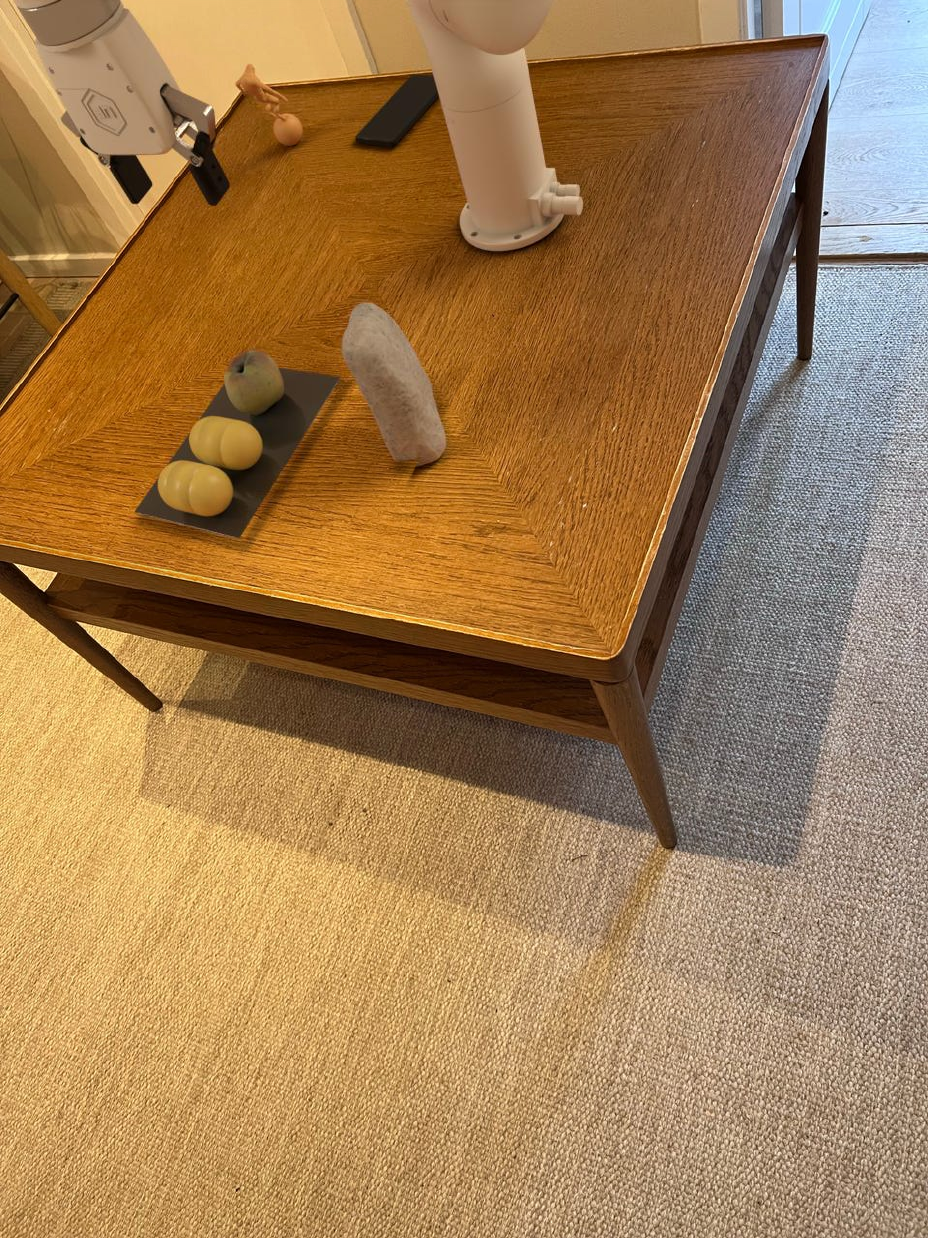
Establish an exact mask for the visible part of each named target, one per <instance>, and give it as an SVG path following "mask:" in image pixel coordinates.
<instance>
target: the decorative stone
mask: <svg viewBox="0 0 928 1238" xmlns="http://www.w3.org/2000/svg"><path fill="white" fill-rule="evenodd" d="M341 355H342V358H343V360H344V362H345V364H346V366H347V367H348V369H349V370H350V372H351V374H352V376H353V378H354V381H355V383H356V385H357V387H358V389H359V391H360V393H361V395H362V396H363V398H364V400H365V402H366V403H367V405H368V407H369V409H370V411H371V413H372V415H373V417H374V420H375V422H376V424H377V426H378V429H379V432H380V434H381V436H382V439H383V442H384V443H385V446H386V448H387V450H388V452H389V453H390V455H391V457H392V459H393V460H394V461H396V462H397V461H398V462H399V461H408V460H416V459H419V460H418V461H417V463H416V465H415V468H417V467H420V466H424V465H427V464H431V463H433V462H435V461H437V460H438V459H440V457H441V456H442V455H443V454H444V452H445V451H446V449H447V437H446V432H445V428H444V425H443V423H442V421H441V417H440V414H439V411H438V407H437V403H436V401H435V397H434V391H433V386H432V383H431V380H430V377H429V375H427V373H426V371H425V369H424V367H423V365H422V364H421V362H420V360H419V357H418V356H417V353H416V351H415V350H414V348H413V346H412V344H411V342H410V341H409V339H408V338H407V337H406V334H405V333H404V332H403V331H402V329H401V328H400V326H399V324H398V323H397V322H396V321H395V319H394V318H393V317H392V316H391V315H390V314H389V313H387V312H386V311H385V310H384V309H382V308H381V307H379V306H378V305H376V304H375V303H373V302H361V303H359V304H357V305H355V306H354V307H353V308H352V310H351V313H350V315H349V319H348V323H347V327H346V329H345V330H344V333H343V335H342V340H341Z"/></svg>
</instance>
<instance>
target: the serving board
mask: <svg viewBox="0 0 928 1238" xmlns="http://www.w3.org/2000/svg"><path fill="white" fill-rule="evenodd" d="M278 368H279V371H280V373H281V376H282V379H283V383H284V394H283V396H282V398H281V399H280V400H278V401H277V402H276V403H274V404H273V405H272V406H270V407H269V408H268V409H267V410H266V411H264V412H263V413H261V414H258V415H252V414H248V413H244V412H241V411H240V410H238V409H237V408H236V407H235V406H234V405H233V404H232V402H231V401H230V399H229V397H228V394H227V390H226V387H225V384H224V383H223V385H222V386H221V387H220V388H219V390H218V392H217V393H216V394H215V396H214V397H213V398H212V400H211V401H210V403H209V405H208V406H207V408H206V409H204V411H203V413H202V414H201V415H200V417H199V419H198V420H197V422H198V421H199V420H201V419H203V418H205V417H209V416H218V417H224V418H229V419H235V420H240V421H244V422H246V423H249V424H250V425H252V426H253V427H254V428H255V429H256V430H257V431H258V433H259V435H260V437H261V439H262V453H261V456H260V458H259V460H258V461H257V462H256V463H255V464H254V465H253V466H252V467H250V468H248V469H245V470H232V469H227V468H222V467H218V466H213V465H210V466H213V467H216V468H219V469H220V470H222V471H223V472H224V473H225V474H226V475H227V476H228V477H229V479H230V481H231V483H232V487H233V496H232V500H231V503H230V504H229V506H228V507H227V508H226V509H225V510H224V511H223V512H221V513H220V514H217V515H214V516H201V515H197V514H193V513H189V512H185V511H181V510H177V509H174V508H172V507H170V506H169V505H168V504H166V503H165V502H164V500H163V499H162V498H161V496H160V493H159V490H158V479H159V476H158V477H157V478H156V480H155V482H154V483H153V484H152V485H151V487H150V489H149V490H148V492H147V493H146V495H145V496H144V497H143V499H142V500H141V502H140V503H139V504H138V506H137V507H136V508H135V510H134V511H133V513H134V514H139V515H142V516H147V517H151V518H153V519H158V520H162V521H166V522H170V523H175V524H178V525H182V526H187V527H190V528H194V529H198V530H202V531H206V532H210V533H214V534H217V535H222V536H226V537H230V538H234V539H238V540H239V539H240V538H241V537H242V536H243V533H244V532H245V530H246V529H247V528H248V526H249V524H250V522H251V521H252V519H253V518H254V516H255V514H256V513H257V512H258V510H259V508H260V507H261V505H262V503H263V502H264V500H265V498H266V497H267V495H268V494H269V492H270V491H271V489H272V488H273V486H274V484H275V483H276V481H277V479H278V478H279V476H280V475H281V473H282V471H283V470H284V469H285V467H286V466H287V464H288V462H289V460H290V459H291V457H292V456H293V454H294V453H295V451H296V449H297V448H298V447H299V445H300V443H301V442H302V440H303V438H304V437H305V435H306V434H307V432H308V431H309V429H310V427H311V426H312V425H313V422H314V421H315V419H316V418H317V416H318V415H319V413H320V412H321V410H322V409H323V407H324V405H325V404H326V402H327V400H328V399H329V397H330V396H331V394H332V393H333V391H334V390H335V388H336V386H337V384H338V383H339V382H340V380H341V379H342V377H341V376H337V375H330V374H323V373H317V372H316V373H315V372H309V371H302V370H296V369H289V368H283V367H278ZM189 436H190V432H189V433H188V435H187V436H186V437H185V439H184V440H183V442H182V443H181V444H180V446H179V447H178V449H177V450H176V451H175V453H174V455H173V456H172V457H171V458H170V460H169V462H167V464H166V466H167V465H169V464H171V463H173V462H175V461H180V460H183V461H191V462H196V463H200V464H205V465H209V464H206V463H204V462H202V461H201V460H199V459H198V458H197V457H196V456H195V455H194V453H193V452H192V450H191V447H190V443H189Z"/></svg>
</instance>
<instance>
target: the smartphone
mask: <svg viewBox="0 0 928 1238" xmlns="http://www.w3.org/2000/svg"><path fill="white" fill-rule="evenodd" d="M438 98H439V94H438V90H437V86H436V83H435V80H434V76H433V75H427V74H426V75H424V74H412V75H411V76H409V77H408V78H407V79H406V80H405V81H404V83H403V84H402V85H401V86H400V87H399V88H398V89H397V90H396V91H395V93H394V94H392V96H391V97H390V98H389V99H388V100H387V101H386V102H385V103H384V104H383V105H382V106H381V107H380V108H379V110H378V111H377V112H376V113H375V114H374V115H373V117H371V119H370V120H369V121H368V122H367V123H366V124H365V125H364V126H363V127H362V128H361V130H360V131H359V132H358V133H357V134H356V135H355V141H356V143H358V144H364V145H374V146H382V147H390V148H391V147H395V146H397V144H398V143H399V142H400V141H401V140H402V139H403V138H404V136H405V135H406V134H407V133H408V132H409V131H410V130H411V129H412V127H413V126H414V125H416V123H417V122H418V120H420V119H421V117H422V116H423V115H424V114H425V113H426V111H428V109H429V108H430V107H431V106H432V105H433V104H434V102H435V101H437V99H438Z"/></svg>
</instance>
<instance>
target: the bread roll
mask: <svg viewBox="0 0 928 1238" xmlns="http://www.w3.org/2000/svg"><path fill="white" fill-rule="evenodd" d="M158 477H159V479H158V478H157V479H158V490H159V493H160V496H161V498H162V499H163V500H164V502H165V503H166V504H168V505H169V506H170V507H172V508H174V509H177V510H181V511H185V512H189V513H193V514H197V515H201V516H214V515H217V514H220V513H221V512H223V511H224V510H225V509H226V508H227V507H228V506H229V504H230V503H231V500H232V496H233V487H232V483H231V481H230V479H229V477H228V476H227V475H226V474H225V473H224V472H223V471H222V470H220V469H219V468H216V467H213V466H210V465H205V464H200V463H196V462H191V461H183V460H180V461H175V462H173V463H171V464H169V465H167V464H166V466H165V467H164V468H163V469H162V470H161V472H160V473H159V475H158Z"/></svg>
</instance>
